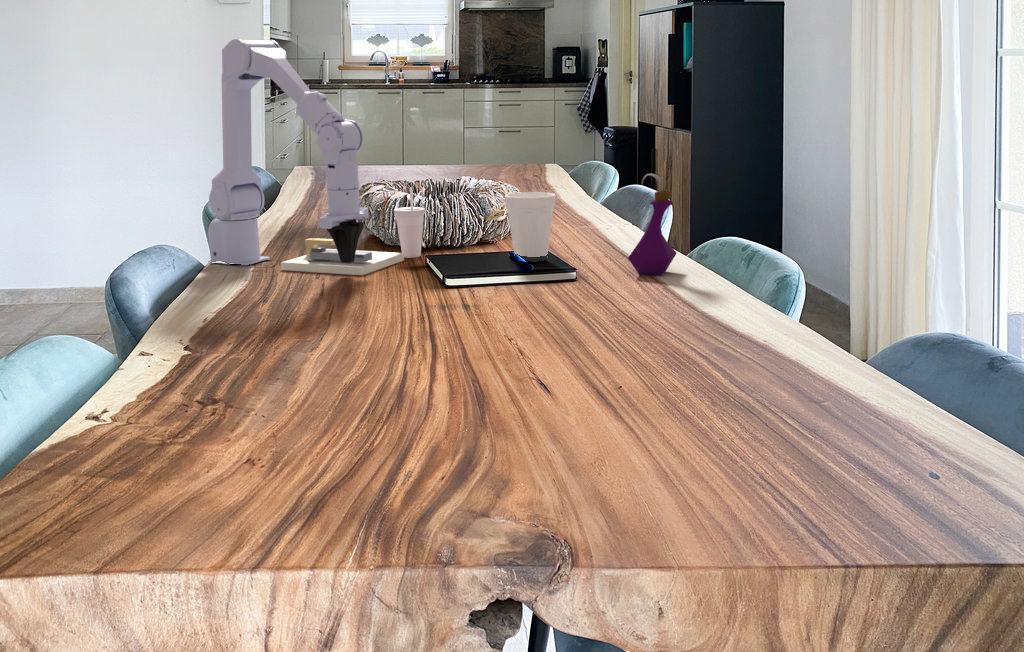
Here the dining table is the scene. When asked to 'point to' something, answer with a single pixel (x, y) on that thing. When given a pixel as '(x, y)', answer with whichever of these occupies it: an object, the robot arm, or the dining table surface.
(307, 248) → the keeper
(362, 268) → the base board
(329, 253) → the latch bar
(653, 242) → the perfume bottle
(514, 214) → the cup
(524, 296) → the dining table surface
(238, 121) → the robot arm
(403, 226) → the smoothie
